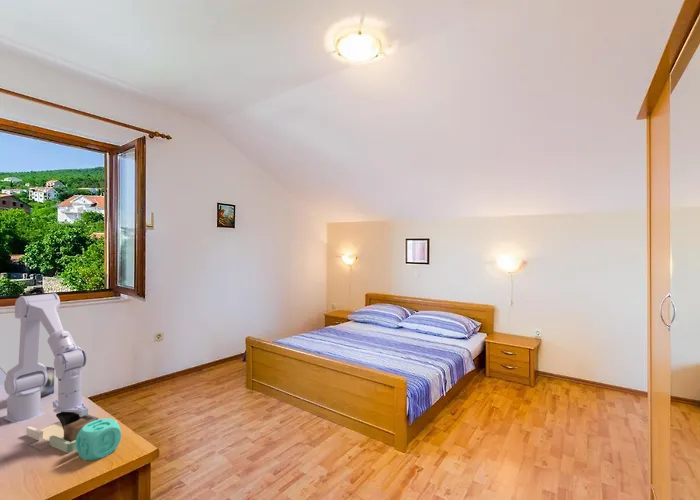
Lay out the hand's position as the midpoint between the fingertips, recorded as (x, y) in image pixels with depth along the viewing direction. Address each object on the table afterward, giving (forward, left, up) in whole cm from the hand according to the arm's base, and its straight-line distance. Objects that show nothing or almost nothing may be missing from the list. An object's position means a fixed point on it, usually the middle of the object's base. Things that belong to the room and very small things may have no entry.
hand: (70, 434), depth 106 cm
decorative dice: (+15, 0, -2) cm, 15 cm away
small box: (-44, +11, -2) cm, 46 cm away
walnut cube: (+4, 0, -1) cm, 4 cm away
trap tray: (-3, 0, -1) cm, 3 cm away
